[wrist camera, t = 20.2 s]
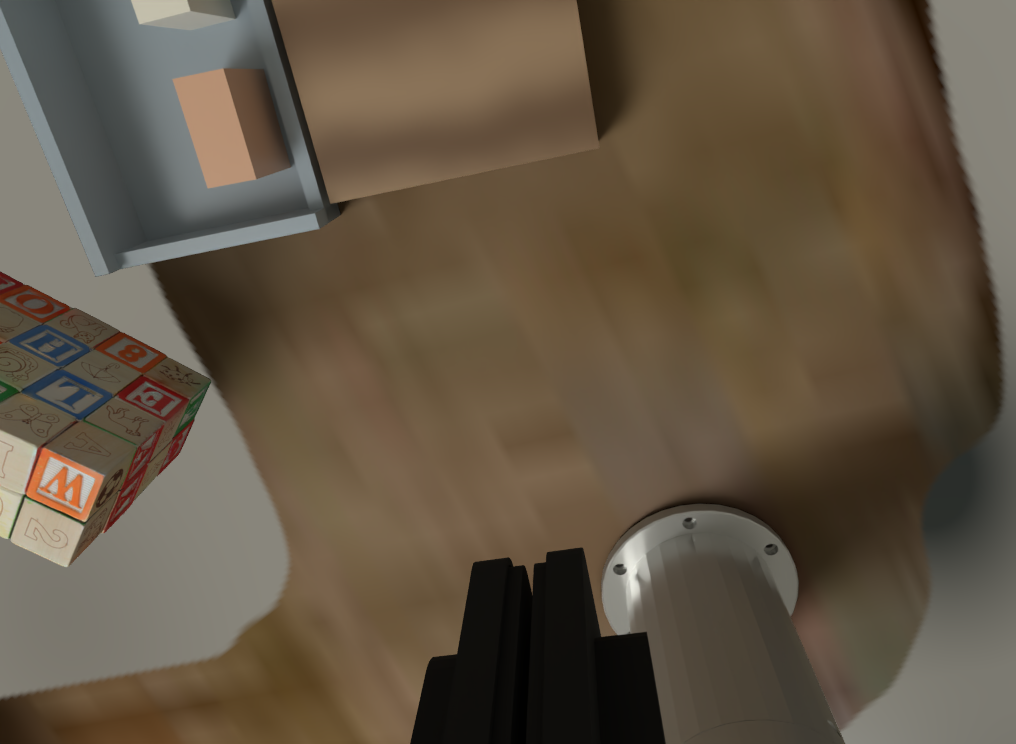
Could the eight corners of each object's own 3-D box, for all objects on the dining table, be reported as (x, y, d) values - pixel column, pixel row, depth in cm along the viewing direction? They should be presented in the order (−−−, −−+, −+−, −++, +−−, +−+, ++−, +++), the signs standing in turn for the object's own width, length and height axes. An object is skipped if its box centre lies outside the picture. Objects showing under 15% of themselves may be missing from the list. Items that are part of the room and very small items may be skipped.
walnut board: (596, 143, 39) (599, 148, 36) (345, 195, 41) (330, 203, 38) (539, -219, 33) (538, -245, 31) (251, -139, 35) (226, -158, 33)
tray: (340, 215, 41) (313, 232, 37) (145, 254, 43) (95, 276, 38) (233, -161, 35) (184, -196, 30) (8, -97, 37) (-71, -122, 32)
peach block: (256, 179, 35) (207, 188, 36) (290, 167, 40) (247, 175, 40) (223, 68, 34) (172, 79, 34) (263, 69, 38) (218, 78, 39)
